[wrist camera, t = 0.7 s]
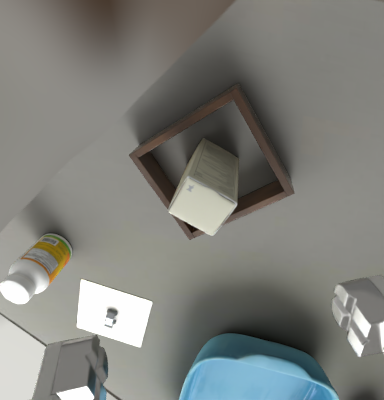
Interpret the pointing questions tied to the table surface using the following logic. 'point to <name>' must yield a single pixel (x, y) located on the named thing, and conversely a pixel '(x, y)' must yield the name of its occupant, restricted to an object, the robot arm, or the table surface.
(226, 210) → the box
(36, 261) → the supplement bottle
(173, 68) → the table surface
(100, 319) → the white card
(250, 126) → the crate
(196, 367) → the casserole dish
